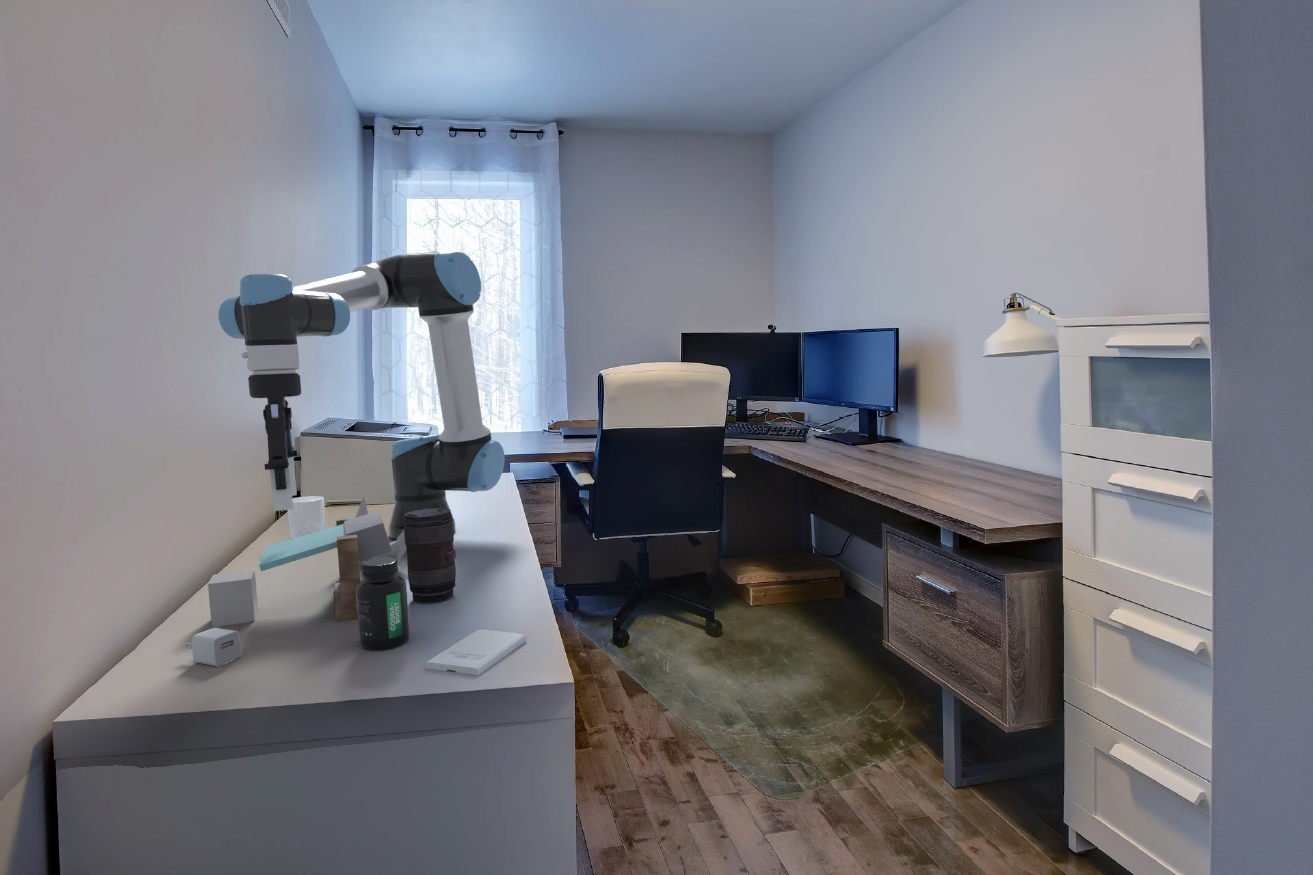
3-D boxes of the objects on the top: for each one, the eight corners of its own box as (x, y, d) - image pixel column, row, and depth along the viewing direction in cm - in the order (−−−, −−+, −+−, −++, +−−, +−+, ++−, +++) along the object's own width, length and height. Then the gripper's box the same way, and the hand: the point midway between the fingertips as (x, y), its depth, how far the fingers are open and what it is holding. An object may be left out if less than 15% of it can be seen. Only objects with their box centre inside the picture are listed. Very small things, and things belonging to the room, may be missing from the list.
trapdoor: (386, 535, 139) (378, 509, 138) (392, 552, 126) (383, 523, 126) (274, 571, 132) (264, 544, 131) (268, 592, 120) (258, 562, 119)
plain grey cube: (213, 574, 125) (217, 616, 126) (207, 584, 120) (211, 627, 120) (254, 569, 128) (258, 610, 128) (251, 578, 122) (254, 621, 123)
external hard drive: (526, 644, 110) (478, 679, 99) (477, 639, 113) (424, 672, 102) (525, 633, 110) (477, 667, 99) (476, 628, 113) (424, 660, 101)
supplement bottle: (409, 647, 109) (403, 564, 108) (357, 654, 107) (351, 570, 106) (410, 631, 116) (405, 553, 114) (361, 637, 114) (356, 558, 113)
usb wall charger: (215, 668, 104) (212, 639, 103) (180, 661, 107) (178, 633, 106) (241, 657, 108) (239, 629, 107) (207, 651, 110) (205, 624, 110)
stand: (364, 585, 141) (359, 515, 139) (369, 616, 123) (364, 536, 122) (335, 589, 139) (329, 518, 137) (336, 621, 121) (329, 540, 120)
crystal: (408, 575, 147) (403, 498, 145) (335, 581, 144) (329, 503, 143) (414, 562, 156) (409, 489, 155) (346, 568, 154) (340, 494, 152)
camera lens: (442, 587, 138) (437, 505, 136) (466, 596, 132) (461, 510, 131) (400, 598, 132) (394, 512, 131) (423, 608, 127) (417, 518, 125)
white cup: (317, 545, 174) (314, 501, 173) (283, 546, 175) (279, 502, 174) (332, 537, 182) (329, 495, 181) (299, 538, 182) (296, 496, 181)
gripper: (254, 372, 134) (266, 492, 136) (239, 374, 111) (253, 519, 113) (302, 370, 136) (312, 488, 139) (296, 372, 114) (309, 513, 116)
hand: (285, 502), depth 126 cm, fingers open, 13 cm apart
